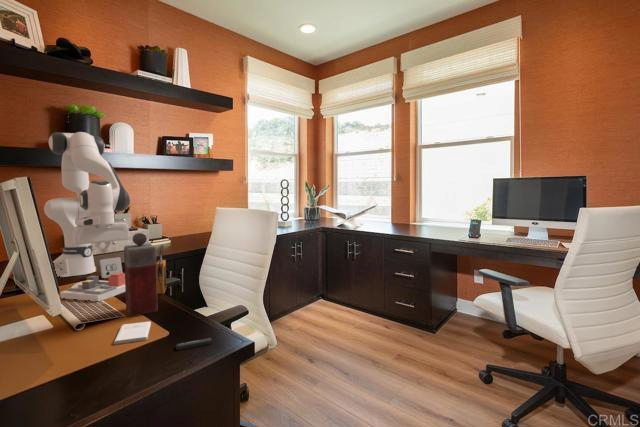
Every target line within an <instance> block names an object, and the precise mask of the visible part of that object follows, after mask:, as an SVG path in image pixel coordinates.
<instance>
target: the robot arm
mask: <svg viewBox="0 0 640 427" xmlns="http://www.w3.org/2000/svg"><path fill="white" fill-rule="evenodd" d="M48 146H49V149H50V150H51V153H53V154H56V155H60V156H62V157H61V184H62V186H63V187H64V188H65V189H66V190H69V191H71V192H74V193H76V195H77V197H58V198H57V197H56V198H52V199H49V200H47V201H46V203H45V204H44V207H43V211H44V214H45V215H46V217H48V219H50V220H52V221H54V222H55V223H57V224H58V226H59V227H60V228H61V230H62V234H63V239H64V247H61V248H60V250H61V251H62V253H61V255H59V256H58V257H56V259H54V260H53V261H52V262H53V263H54V267H55V271H56V274H57V276H56V277H59V276H60V277H59V278H65V277H67V278H68V277H75V276H82V275H84V276H85V275H88V274H92V273H94V272H97V266H96V265H95V260H94V254H93V249H94V248H93V244H94V246H95V247H96V249H97V251H98V254H107V253H108V252H109V247H110V246H111V244H112V243H111V242H118V241H128V240H129V239H130V237H131V235H130V230H129V227H130V223H129V220H128V219H125V218H115V212H123V211H125V210H126V209H127V208H128V207H129V206H130V204H131V198H130V195H129V193H128V192H127V190H126V189H125V188H124V185H123V184H122V182H121V180H120V178H119V176H118V174H117V172H116V170H115V168H114V166H113V165H112V164H111V162H109V161H107V160H106V159H104V158H103V157H102V155H103V154H104V152H105V146H106V145H105V142H104V139H103V138H102V137H101V136H98V135H91V134H90V133H88V132H85V131H84V132H83V131H77V132H75V133H74V132H72V133H71V132H61V131H60V132H58V131H57V132H53V133H51V134H50V137H49V138H48ZM89 174H92V175H96V176H98V177H101V178H102V179H104V180H91V181H90V176H89ZM102 243H104V244H105V246H104V247H101V244H102Z"/></svg>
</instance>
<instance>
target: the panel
mask: <svg viewBox="0 0 640 427" xmlns="http://www.w3.org/2000/svg"><path fill="white" fill-rule="evenodd" d="M123 293H126V290H125V285H122V286H120V287H116V286H109V284H108V280H100V279H99V284H95V287H94V288H91V289H82V284H78V285H77V286H75V287H67V289H65V290H63V291H60V292H59V296H60V297H61V298H60V297H59V298H60V299H63V298H65V299H64V300H73V299H77V300H76V301H84V300H90V301H89V302H95V301H99V302H101V301H100V300H102V301H104V300H106V299H109V298H112V297H114V296H118V295H120V294H123Z"/></svg>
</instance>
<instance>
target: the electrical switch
mask: <svg viewBox="0 0 640 427" xmlns="http://www.w3.org/2000/svg"><path fill="white" fill-rule="evenodd" d="M121 260H122V258H121V257H118V256H117V257H112V258H104V259H99V261H98V264H99V269H100V278H101V279H103V278H104V279H108V277H109V276H111V274H114V273H124V272H123V266H122V261H121Z"/></svg>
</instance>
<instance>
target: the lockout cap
mask: <svg viewBox="0 0 640 427" xmlns="http://www.w3.org/2000/svg"><path fill="white" fill-rule="evenodd" d="M107 279H108V280H107V281H108V284H109V286H116V287H120V286H122V285H125V272H123V273H114V274H111V276H109V277H108V278H107Z"/></svg>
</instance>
